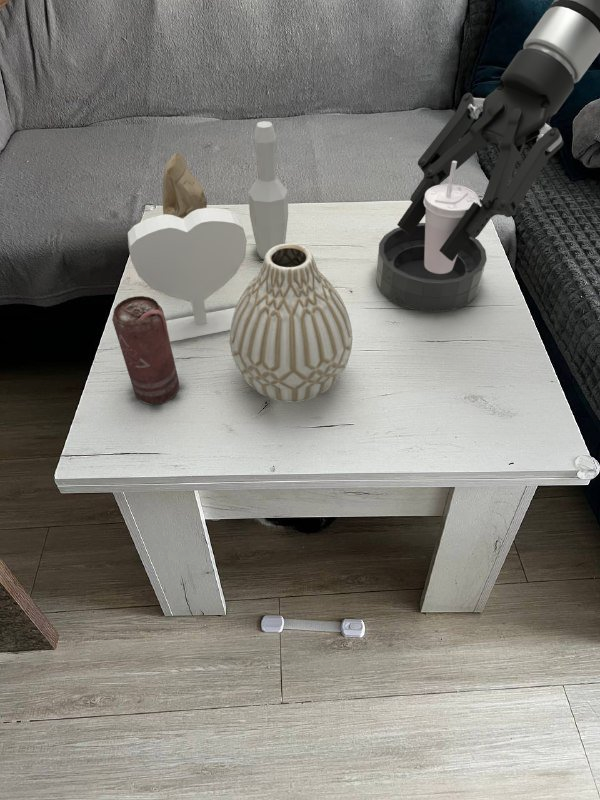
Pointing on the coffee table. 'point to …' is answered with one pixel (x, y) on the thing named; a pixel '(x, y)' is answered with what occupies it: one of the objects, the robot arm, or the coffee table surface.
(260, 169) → the low poly bottle
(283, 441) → the coffee table surface
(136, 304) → the can
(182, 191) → the tan rock
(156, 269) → the heart sculpture
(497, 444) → the coffee table surface
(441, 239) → the smoothie
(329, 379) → the vase
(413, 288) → the bowl
